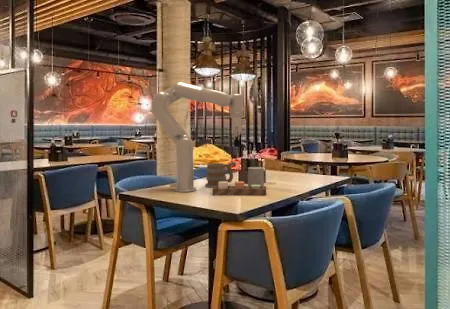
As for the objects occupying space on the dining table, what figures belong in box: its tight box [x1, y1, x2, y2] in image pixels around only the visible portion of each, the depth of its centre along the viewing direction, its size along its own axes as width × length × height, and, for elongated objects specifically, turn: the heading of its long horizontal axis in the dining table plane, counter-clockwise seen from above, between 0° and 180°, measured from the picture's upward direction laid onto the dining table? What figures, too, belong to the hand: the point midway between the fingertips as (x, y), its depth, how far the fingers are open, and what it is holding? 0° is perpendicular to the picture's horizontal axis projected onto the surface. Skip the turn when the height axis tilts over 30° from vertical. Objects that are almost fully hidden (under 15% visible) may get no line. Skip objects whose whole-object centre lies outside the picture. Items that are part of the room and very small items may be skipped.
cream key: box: [218, 181, 229, 188], centre depth 227 cm, size 5×5×4 cm
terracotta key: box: [234, 180, 245, 189], centre depth 227 cm, size 5×5×4 cm
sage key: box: [251, 185, 260, 189], centre depth 226 cm, size 5×5×4 cm
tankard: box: [204, 161, 237, 189], centre depth 253 cm, size 20×13×15 cm, turn 112°
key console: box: [211, 185, 267, 196], centre depth 227 cm, size 29×10×4 cm, turn 86°
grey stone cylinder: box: [247, 166, 265, 186], centre depth 244 cm, size 10×10×12 cm
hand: (236, 146), depth 240 cm, fingers closed
